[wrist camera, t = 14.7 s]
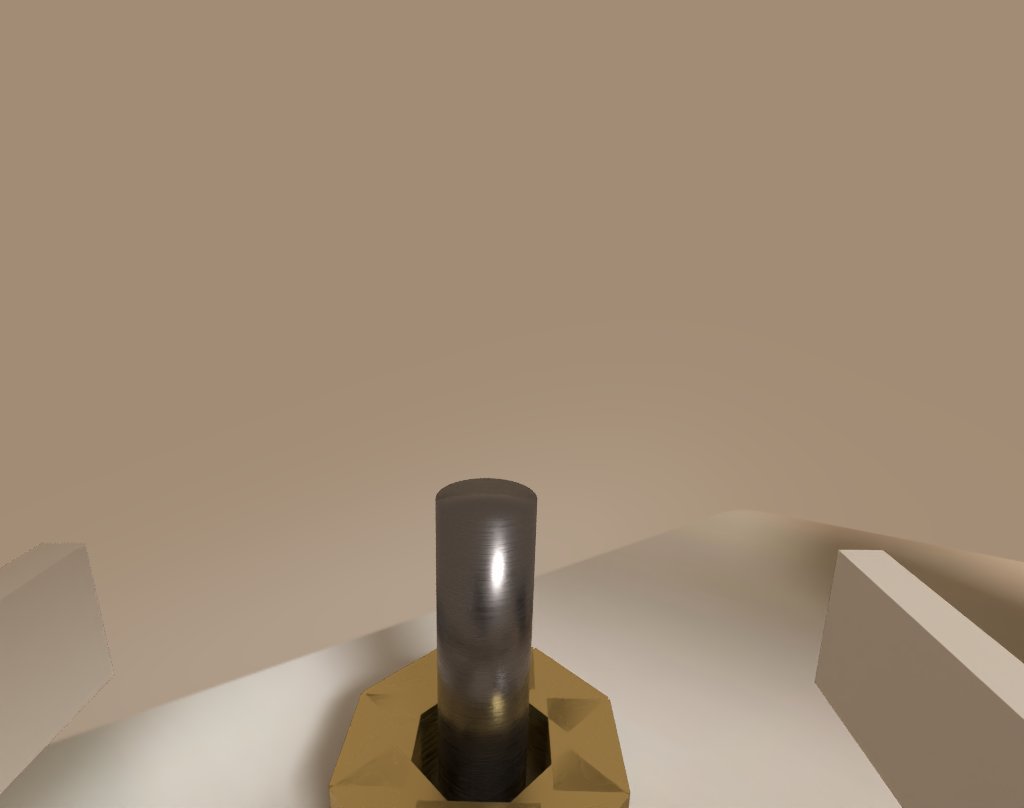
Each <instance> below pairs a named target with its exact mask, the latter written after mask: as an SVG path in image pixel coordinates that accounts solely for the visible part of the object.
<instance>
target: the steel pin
mask: <svg viewBox="0 0 1024 808" xmlns="http://www.w3.org/2000/svg"><path fill="white" fill-rule="evenodd" d="M536 515H537V497H536V494H535V493H534V492H533V491H532V490H531V489H530V488H528V487H526V486H524V485H522V484H519V483H516V482H513V481H508V480H502V479H490V478H480V479H469V480H464V481H459V482H456V483H453V484H450V485H448V486H446V487H444V488H443V489H441V490H440V491H439V492H438V493H437V495H436V582H437V583H436V586H437V587H436V588H437V589H436V592H437V593H436V594H437V698H438V791H439V792H440V793H441V795H442V796H443V797H444V798H445V799H446V800H447V801H465V802H506V803H510V802H511V801H513V800H514V799H515V798H516V797H517V796H518V795H519V794H520V793H521V792H522V791H523V790H524V789H526V767H527V742H528V716H529V691H530V666H531V641H532V616H533V591H534V564H535V540H536Z"/></svg>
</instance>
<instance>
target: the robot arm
mask: <svg viewBox="0 0 1024 808" xmlns="http://www.w3.org/2000/svg"><path fill="white" fill-rule="evenodd" d="M113 676H114V671H113V667H112V662H111V658H110V653H109V648H108V644H107V639H106V635H105V631H104V626H103V621H102V617H101V613H100V608H99V603H98V599H97V594H96V589H95V585H94V580H93V576H92V571H91V567H90V562H89V558H88V553H87V549H86V544H85V543H41V544H39V545H38V546H36V547H34V548H33V549H31V550H29V551H28V552H26V553H24V554H23V555H21V556H19V557H18V558H16V559H14V560H13V561H11V562H10V563H8V564H6V565H5V566H3V567H1V568H0V794H1V793H2V792H3V791H4V790H5V789H6V788H7V787H8V786H9V785H10V784H11V783H12V782H13V780H14V779H15V778H16V777H17V776H18V775H19V774H20V773H21V772H22V771H23V770H24V769H25V768H26V767H27V766H28V765H29V764H30V763H31V762H32V761H33V760H34V759H35V757H36V756H37V755H38V754H39V753H40V752H41V751H42V750H43V749H44V748H45V747H46V746H47V745H48V744H49V743H50V742H51V741H52V740H53V739H54V738H55V737H56V736H57V735H58V733H59V732H60V731H61V730H62V729H63V728H64V727H65V726H66V725H67V724H68V723H69V722H70V721H71V720H72V719H73V718H74V717H75V716H76V715H77V713H78V712H80V710H81V709H82V708H83V707H84V706H85V705H86V704H87V703H88V702H89V701H90V700H91V699H92V698H93V697H94V696H95V695H96V694H97V693H98V692H99V691H100V689H102V687H103V686H104V685H105V684H106V683H107V682H108V681H109V680H110V679H111V678H112V677H113ZM815 683H816V685H817V686H818V688H819V689H820V690H821V692H822V693H823V695H824V696H825V698H826V699H827V700H828V702H829V703H830V705H831V706H832V708H833V709H834V711H835V712H836V713H837V715H838V716H839V718H840V719H841V721H842V722H843V723H844V725H845V726H846V728H847V729H848V731H849V732H850V733H851V735H852V736H853V738H854V739H855V741H856V742H857V743H858V745H859V746H860V748H861V749H862V751H863V752H864V753H865V755H866V756H867V758H868V759H869V761H870V762H871V763H872V765H873V766H874V768H875V769H876V771H877V772H878V773H879V775H880V776H881V778H882V779H883V781H884V782H885V783H886V785H887V786H888V788H889V789H890V791H891V792H892V793H893V795H894V796H895V798H896V799H897V801H898V802H899V803H900V805H901V806H902V808H1024V663H1022V662H1021V661H1020V660H1019V659H1017V658H1016V657H1015V656H1014V655H1012V654H1011V653H1010V652H1009V651H1007V650H1006V649H1005V648H1004V647H1002V646H1001V645H1000V644H999V643H997V642H996V641H995V640H994V639H993V638H991V637H990V636H989V635H988V634H986V633H985V632H984V631H983V630H981V629H980V628H979V627H978V626H976V625H975V624H974V623H973V622H971V621H970V620H969V619H968V618H966V617H965V616H964V615H963V614H961V613H960V612H959V611H958V610H956V609H955V608H954V607H953V606H951V605H950V604H949V603H948V602H947V601H945V600H944V599H943V598H942V597H940V596H939V595H938V594H937V593H935V592H934V591H933V590H932V589H930V588H929V587H928V586H927V585H925V584H924V583H923V582H922V581H920V580H919V579H918V578H917V577H915V576H914V575H913V574H912V573H910V572H909V571H908V570H907V569H906V568H904V567H903V566H902V565H901V564H899V563H898V562H897V561H896V560H894V559H893V558H892V557H891V556H889V555H888V554H887V553H886V552H884V551H883V550H838V555H837V560H836V566H835V571H834V577H833V583H832V588H831V594H830V599H829V605H828V610H827V616H826V622H825V627H824V633H823V638H822V644H821V649H820V655H819V661H818V666H817V672H816V677H815Z"/></svg>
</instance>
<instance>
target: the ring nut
mask: <svg viewBox="0 0 1024 808" xmlns="http://www.w3.org/2000/svg"><path fill="white" fill-rule="evenodd" d="M363 692H364V693H361V696H360V699H359V702H358V704H357V707H356V710H355V713H354V716H353V719H352V721H351V724H350V727H349V730H348V733H347V736H346V738H345V741H344V744H343V747H342V750H341V752H340V755H339V758H338V761H337V764H336V767H335V769H334V772H333V775H332V778H331V781H330V784H329V793H330V807H331V808H629V800H630V789H629V784H628V780H627V775H626V771H625V766H624V762H623V757H622V752H621V748H620V743H619V739H618V734H617V730H616V725H615V721H614V716H613V711H612V707H611V702H610V700H608V697H607V696H606V695H604V694H603V693H601V692H600V691H598V690H597V689H595V688H594V687H592V686H591V685H589V684H588V683H587V682H585V681H584V680H582V679H581V678H579V677H578V676H576V675H575V674H573V673H572V672H570V671H569V670H567V669H566V668H564V667H563V666H561V665H560V664H559V663H557V662H556V661H554V660H553V659H551V658H550V657H548V656H547V655H545V654H544V653H542V652H541V651H539V650H538V649H536V648H535V649H533V647H531V666H530V691H529V716H528V742H527V767H526V789H524V790H523V791H522V792H521V793H520V794H519V795H518V796H517V797H516V798H515V799H514V800H513V801H511V802H510V803H506V802H465V801H447V800H446V799H445V798H444V797H443V796H442V795H441V793H440V792H439V791H438V698H437V649H436V650H434V651H432V652H430V653H429V654H427V655H425V656H423V657H422V658H420V659H418V660H417V661H415V662H413V663H411V664H410V665H408V666H406V667H404V668H403V669H401V670H399V671H398V672H396V673H394V674H392V675H391V676H389V677H387V678H385V679H384V680H382V681H380V682H378V683H377V684H375V685H373V686H372V687H370V688H368V689H366V690H365V691H363Z"/></svg>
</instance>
